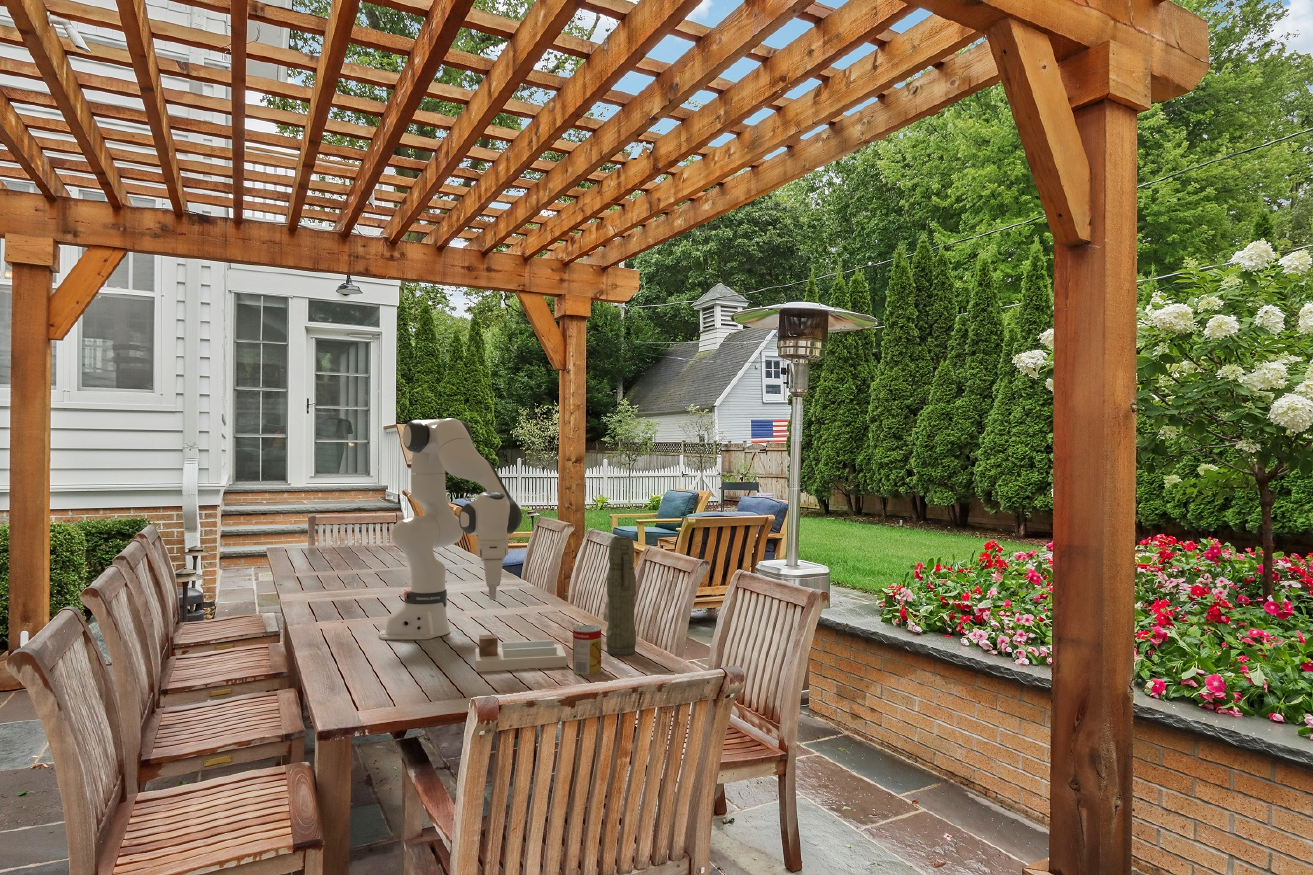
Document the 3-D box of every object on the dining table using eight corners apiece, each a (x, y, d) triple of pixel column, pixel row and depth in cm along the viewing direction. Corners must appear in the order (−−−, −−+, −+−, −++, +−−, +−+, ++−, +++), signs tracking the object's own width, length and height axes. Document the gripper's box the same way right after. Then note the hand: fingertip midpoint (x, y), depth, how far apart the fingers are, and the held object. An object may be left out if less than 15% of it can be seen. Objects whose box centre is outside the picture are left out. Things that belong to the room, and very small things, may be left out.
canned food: (604, 668, 228) (604, 625, 229) (596, 676, 221) (596, 632, 221) (577, 666, 230) (578, 624, 230) (568, 674, 223) (569, 630, 223)
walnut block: (479, 656, 229) (479, 639, 229) (479, 652, 234) (479, 634, 234) (497, 655, 230) (497, 638, 230) (496, 651, 235) (496, 634, 235)
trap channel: (475, 671, 225) (475, 653, 225) (475, 658, 238) (475, 641, 238) (566, 666, 230) (566, 648, 230) (560, 654, 244) (560, 637, 244)
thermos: (615, 659, 239) (616, 539, 239) (600, 649, 249) (600, 535, 250) (642, 655, 243) (643, 538, 243) (626, 646, 253) (627, 534, 253)
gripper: (480, 544, 242) (480, 591, 242) (481, 553, 222) (481, 604, 222) (502, 544, 243) (502, 590, 243) (505, 553, 224) (504, 603, 223)
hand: (492, 597), depth 233 cm, fingers open, 5 cm apart
